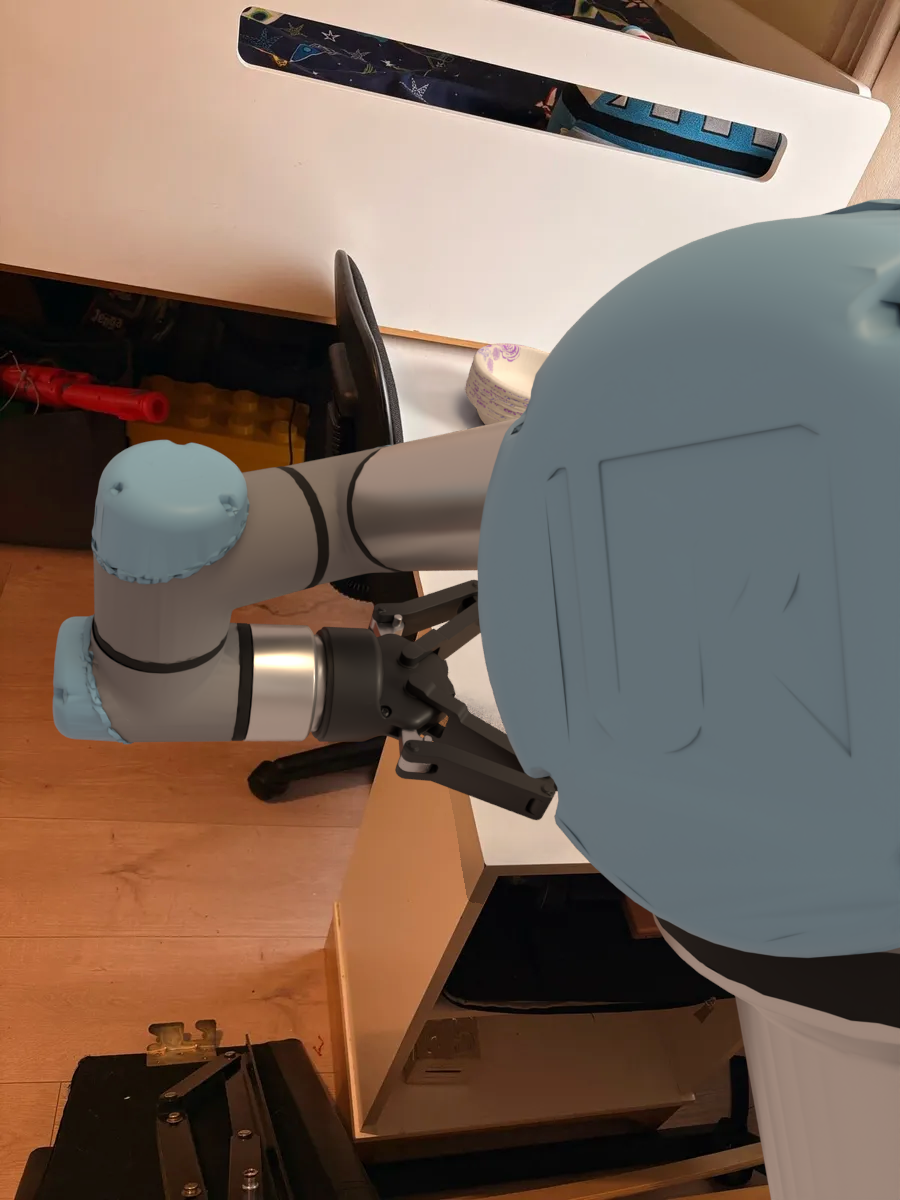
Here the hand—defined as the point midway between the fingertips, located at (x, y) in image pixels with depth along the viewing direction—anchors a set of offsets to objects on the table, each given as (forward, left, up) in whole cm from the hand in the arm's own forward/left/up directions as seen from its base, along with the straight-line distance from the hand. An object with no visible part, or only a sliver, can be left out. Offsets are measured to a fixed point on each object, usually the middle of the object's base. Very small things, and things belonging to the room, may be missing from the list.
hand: (602, 689), depth 66 cm
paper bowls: (+57, -13, -12) cm, 60 cm away
